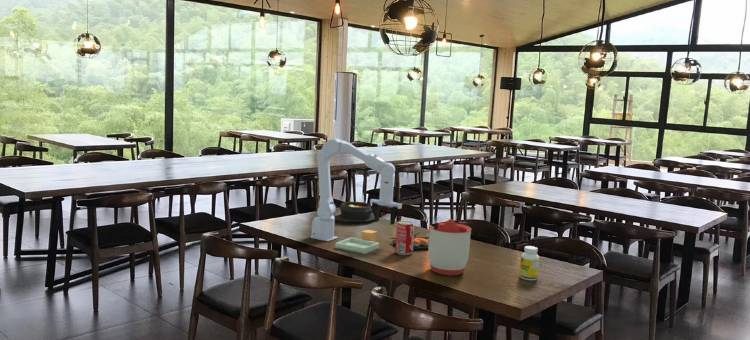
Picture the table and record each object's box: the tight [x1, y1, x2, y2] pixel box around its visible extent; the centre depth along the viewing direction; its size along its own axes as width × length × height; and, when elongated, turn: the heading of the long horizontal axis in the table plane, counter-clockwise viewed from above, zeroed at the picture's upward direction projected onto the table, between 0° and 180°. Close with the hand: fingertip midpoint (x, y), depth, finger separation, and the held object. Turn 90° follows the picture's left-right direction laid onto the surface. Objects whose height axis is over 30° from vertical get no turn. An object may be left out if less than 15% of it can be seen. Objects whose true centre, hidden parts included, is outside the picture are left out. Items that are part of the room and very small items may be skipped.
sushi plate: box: [390, 231, 429, 250], centre depth 267 cm, size 29×30×4 cm
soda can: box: [395, 220, 415, 256], centre depth 245 cm, size 7×7×13 cm
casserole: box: [334, 201, 375, 224], centre depth 300 cm, size 25×19×8 cm
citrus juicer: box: [425, 218, 473, 277], centre depth 224 cm, size 16×17×20 cm
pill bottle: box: [519, 245, 540, 281], centre depth 221 cm, size 6×6×12 cm
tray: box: [334, 237, 380, 255], centre depth 250 cm, size 14×12×2 cm
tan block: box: [360, 229, 378, 243], centre depth 260 cm, size 5×5×5 cm
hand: (384, 222), depth 258 cm, fingers open, 7 cm apart
